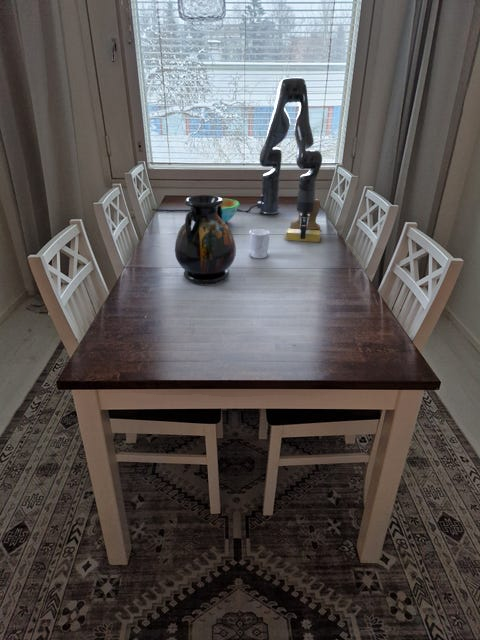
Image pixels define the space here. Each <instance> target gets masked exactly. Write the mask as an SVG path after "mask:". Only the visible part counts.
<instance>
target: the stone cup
mask: <svg viewBox="0 0 480 640" xmlns="http://www.w3.org/2000/svg"><path fill="white" fill-rule="evenodd" d="M320 208H321V200H319V199H318V198H315V203H314V211H313V212H308V214H309V220H308V226H307V227H306V229H307V230H320V229H321V226H320V224H318V223H317V221H316V220H317V217H318V214H319V211H320ZM297 213H298V219H297V220H296V221H291V222H290V224H289V225H290V226H289V227H290V228H289V229H301V226H300V214H302V212H299V211H297Z"/></svg>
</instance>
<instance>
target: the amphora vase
mask: <svg viewBox="0 0 480 640" xmlns="http://www.w3.org/2000/svg"><path fill="white" fill-rule="evenodd" d="M221 198H222V197H220V196H217V195H210V194H207V195H206V194H202V195H201V194H200V195H192V196H189V197H187V198H185V199H184V201H183V203H184V204H185V205H186V206H187V207H189V209H191V211H187V213H186V214H185V218H184V219H185V221H184V223H183V225H182V226H181V227H180V229H179V231H178V233H177V235H176V238H175V242H174V243H175V246H174V255H175V259H176V261H177V263H178V265H180V267H181V268H182V269H183V270H184V271H183V277H184V278H185V280H186V281H188V282H190V283H193V284H195V285H205V286H206V285H207V286H208V285H215V284H219V283H221V282H223V281H225V280H227V278H229V275H230V270H229V268H230V267H231V266H232V264H233V263H234V261H235V258H236V256H237V246H236V240H235V237H234V234H233V232H232V230H231V228H230V227H229V226H228V224H226V222H225V223H224V222H223V221H222V209H221V206H220V205H221V204H222V203H223V200H222V199H221Z"/></svg>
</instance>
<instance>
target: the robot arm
mask: <svg viewBox="0 0 480 640" xmlns="http://www.w3.org/2000/svg"><path fill="white" fill-rule="evenodd" d="M291 103H293V104H294V103H298V106H299V111H298V114H297V116H296V119H295V122H294V127H293V128H294V129H293V132H294V133H293V134H294V138H295V142H296V159H295V160H296V161H295V163H296V165H297V167H298V168H299V169H300V170H308V172H306V173H304V174H302V175H300V176H299V179H298V192H297V200H296V211H297V212H298V211H299V212H302V214H300V226H301V229H300V230H301V235H300V239H305V235H306V230H307V229H306V227H307V226H308V220H309V214H308V212H313V211H314V203H315V199H316V183H317V178H318V175H319V172H320V169H321V167H322V164H323V155H322V153H321V152H320V150H307V149H309V148H311V147H312V146H313V145H314V141H315V139H314V136H313V131H312V126H311V122H310V111H309V97H308V88H307V83H306V80H305V79H304V78H303V77H286V78H283V79H281V81H280V82H279V85H278V89H277V94H276V99H275V104H274V110H273V112H272V115H271V118H270V122H269V126H268V130H267V133H266V137H265V141H264V142H263V144H262V148H261V150H260V153H259V164H260V166H261V167H264V168H271V169H270V170H269V171H267V172H265V173H262V177H261V195H260V200H259V201H257V203H256V204H254V205H252V206H250V207H249V209H247V210H243V209H240V208H237V210H236V211H238V212H243V213H249V212H250V211H251V210H252V209H253V208H255V207H256V208H257V209H259V210H260V214H264V215H277V214H278V213H279V210H280V209H279V195H280V178H281V168H282V158H283V157H282V156H283V153H282V150H281V148H279V147H277V146H278V145H280V143H282V142H283V141H284V140H285V139H286V137H287V135H288V133H289V130H290V128H291V127H290V126H291V119H290V117H289V114H288V113H287V111H286V105H287V104H291ZM152 211H157V212H191V208H189V209H163V208H152Z"/></svg>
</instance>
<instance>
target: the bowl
mask: <svg viewBox="0 0 480 640" xmlns="http://www.w3.org/2000/svg"><path fill="white" fill-rule="evenodd" d="M220 198H221V199H222V200H223V203H222V204H221V205H220V206H221V209H222V221H223V222H224V223H225V224H226V223H227V222H229V221H230V220H231V219H232V218H233V217H234V216H235V214H236V212H237V211H238V210H237V209H239V206H240V202H239V201H238V200H236V199H232V198H227V197H226V198H224V197H220Z"/></svg>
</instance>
